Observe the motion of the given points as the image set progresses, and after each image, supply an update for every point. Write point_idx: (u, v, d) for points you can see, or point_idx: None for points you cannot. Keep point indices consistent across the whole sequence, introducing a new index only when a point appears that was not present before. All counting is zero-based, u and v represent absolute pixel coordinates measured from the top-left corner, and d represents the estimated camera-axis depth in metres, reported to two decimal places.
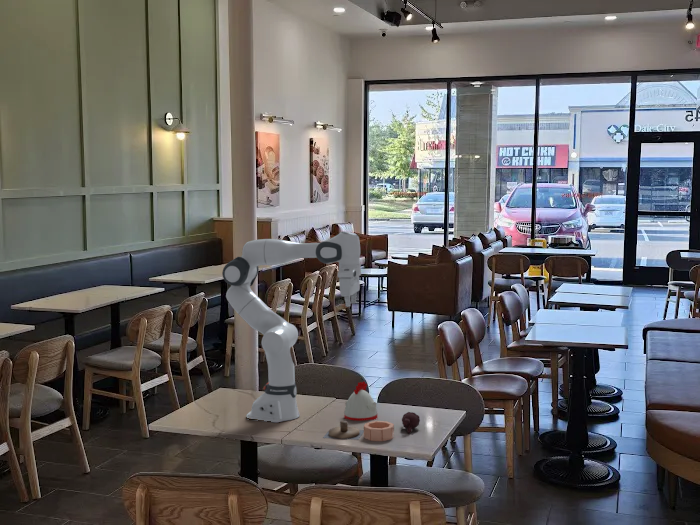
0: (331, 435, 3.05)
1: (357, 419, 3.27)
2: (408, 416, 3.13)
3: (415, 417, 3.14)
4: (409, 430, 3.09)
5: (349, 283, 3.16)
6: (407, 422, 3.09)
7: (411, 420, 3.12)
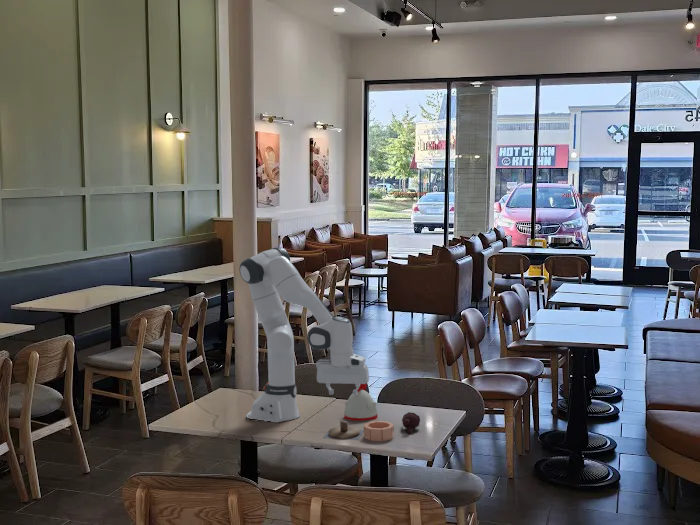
0: (331, 435, 3.05)
1: (357, 419, 3.27)
2: (408, 416, 3.13)
3: (415, 417, 3.13)
4: (409, 430, 3.09)
5: (367, 368, 3.06)
6: (407, 422, 3.09)
7: (411, 420, 3.12)
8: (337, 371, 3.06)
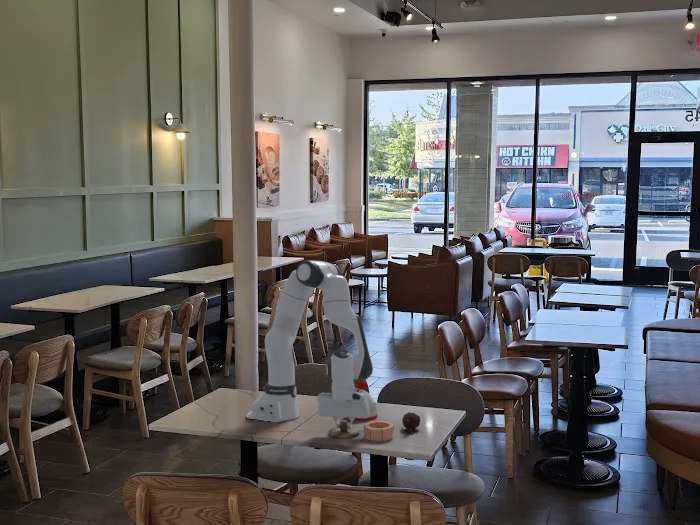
0: (331, 435, 3.05)
1: (357, 419, 3.27)
2: (408, 416, 3.13)
3: (415, 418, 3.13)
4: (409, 430, 3.09)
5: (368, 402, 3.08)
6: (407, 422, 3.08)
7: (411, 420, 3.11)
8: (338, 405, 3.07)
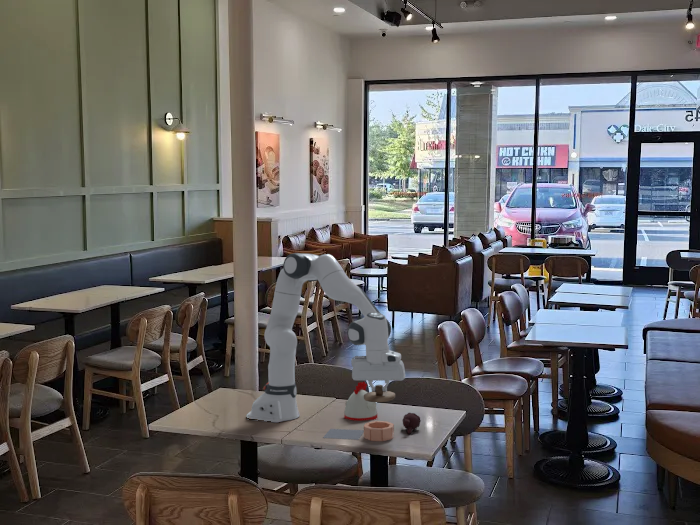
0: (367, 399, 3.00)
1: (357, 419, 3.27)
2: (408, 417, 3.12)
3: (415, 418, 3.12)
4: (409, 431, 3.08)
5: (403, 364, 3.03)
6: (407, 423, 3.08)
7: (411, 421, 3.11)
8: (373, 368, 3.02)
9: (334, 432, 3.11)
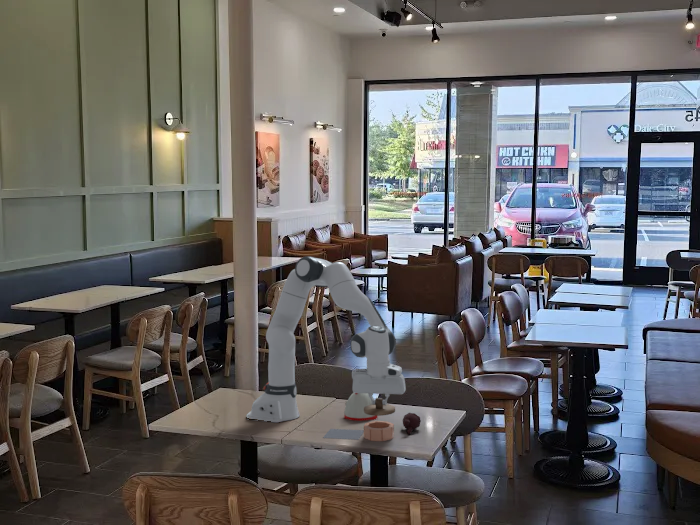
0: (366, 412, 3.01)
1: (357, 419, 3.27)
2: (408, 417, 3.12)
3: (415, 418, 3.12)
4: (409, 431, 3.08)
5: None
6: (407, 423, 3.08)
7: (411, 421, 3.11)
8: (373, 381, 3.02)
9: (334, 432, 3.11)
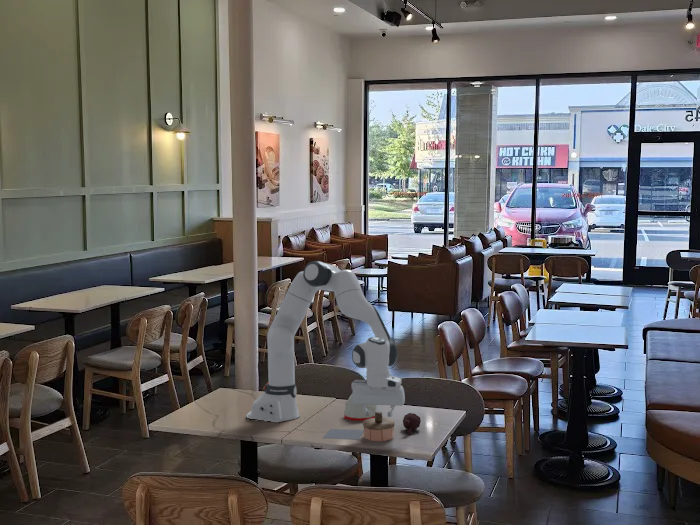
0: (366, 426, 3.01)
1: (357, 419, 3.27)
2: (408, 417, 3.12)
3: (416, 418, 3.12)
4: (409, 431, 3.08)
5: (403, 390, 3.03)
6: (407, 423, 3.08)
7: (411, 421, 3.11)
8: (373, 393, 3.02)
9: (334, 432, 3.11)
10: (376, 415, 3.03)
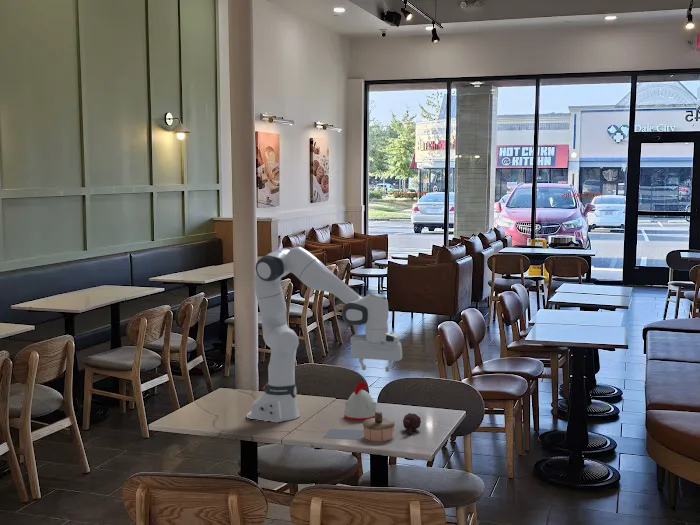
0: (366, 426, 3.01)
1: (357, 419, 3.27)
2: (409, 417, 3.12)
3: (416, 418, 3.12)
4: (409, 431, 3.08)
5: (401, 346, 3.09)
6: (407, 423, 3.07)
7: (411, 421, 3.10)
8: (371, 347, 3.08)
9: (334, 432, 3.11)
10: (376, 415, 3.03)
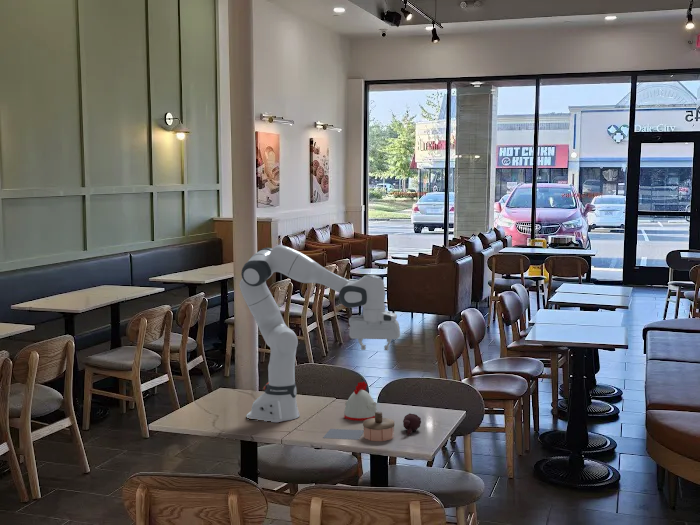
0: (366, 426, 3.01)
1: (357, 419, 3.27)
2: (409, 417, 3.11)
3: (416, 419, 3.11)
4: (409, 432, 3.07)
5: (398, 324, 3.17)
6: (407, 424, 3.07)
7: (411, 422, 3.10)
8: (369, 327, 3.16)
9: (334, 432, 3.11)
10: (376, 415, 3.03)
